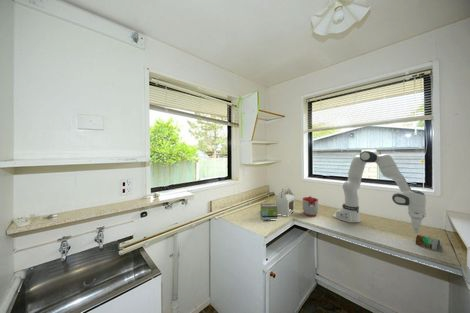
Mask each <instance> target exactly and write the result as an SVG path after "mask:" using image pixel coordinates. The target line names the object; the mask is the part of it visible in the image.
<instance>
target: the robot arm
mask: <svg viewBox="0 0 470 313" xmlns="http://www.w3.org/2000/svg"><path fill="white" fill-rule="evenodd" d="M367 163H368V164H370V163H375V164H377V166H378V169H379V171H380V173H381V175H383V177H385V178H387V179H390V180H392V181H393V182H395V183H396V185H397V187H398V189H399V190H400V192H397V193H393V194H392V197H391V199H392V201H393V203H394V204H396V205H397V206H398V205H399V206H405V207H408V208H407V209H408V210H407V214H408V216H409V217H410V221H411V227H412V229H413V231H414V232H413V233H414V234H415V235H419V230H420V229H421V225H422V221H423V220H424V218H425V217H426V214H427V213H426V211H427V208H426V205H427V200H426V195H425V193H424V192H422V191H419V190H415V189H412V188H411V187H410V185H409V183H408V182H407V180H406V178H405V177H404V175H403V173H401V171H400V169H399V168H398V165H397V164H396V162H395V159H393V157H392V156H391V155H390V154H387V153H383V154H382V153H381V152H379V151H378V150H373V149H372V150H371V149H369V150H368V149H367V150H363V151H361V152H360V154H357V155H355V156H354V157H353V158H352V160H351V163H350V165H349V169H348V173H347V176H348V177H347V180H346V181H345V182H344V183H343V184H342V190H343V195H344V203H343V204H342V206H341V207H340V208H339V209H337V210H336V212H335V213H334V214H333V218H335V219H337V220H341V221H343V222H347V223H360V222H361V218H360V205H359V197H358V190H359V189H360V187H361V184H362V176H363V173H364V170H365V168H366V164H367Z"/></svg>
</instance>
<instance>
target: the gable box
mask: <svg viewBox="0 0 470 313" xmlns="http://www.w3.org/2000/svg"><path fill="white" fill-rule="evenodd" d="M275 205H276V206H277V214H281V215H286V216H288V215H289V214H291V213H292V212H293V211H294V210H296V209H295V208H296V207H295V205H296V204H295V195H294V193H293V192H292V191H291V189H290V187H289V186H285V187H283V188H282V189H281V191H280V193H279V194H278V195H277V197H276V198H275ZM289 209H291V211H290V212H289ZM294 212H295V211H294ZM294 212H293V213H294ZM293 213H292V214H293ZM292 214H291V215H292ZM281 215H280V216H281ZM289 216H290V215H289ZM289 216H288V217H289Z"/></svg>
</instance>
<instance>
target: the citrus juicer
mask: <svg viewBox="0 0 470 313" xmlns="http://www.w3.org/2000/svg"><path fill="white" fill-rule="evenodd" d="M301 199H302V210H303V213H304V215H305V216H307V217H316V216H317V215H318V211H319V199H318V198H315V197H313V196H312V195H309V196H305V197H302V198H301Z"/></svg>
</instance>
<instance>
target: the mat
mask: <svg viewBox="0 0 470 313" xmlns="http://www.w3.org/2000/svg"><path fill="white" fill-rule="evenodd" d="M419 247H420V248H422V249H423V248H425V249H428V250H431V251H434V252H439V253H443V245H442V243H441V242H440V245H438V246H437V251H436V250H432V249H430V248H427V247H424V246H421V245H419Z"/></svg>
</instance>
